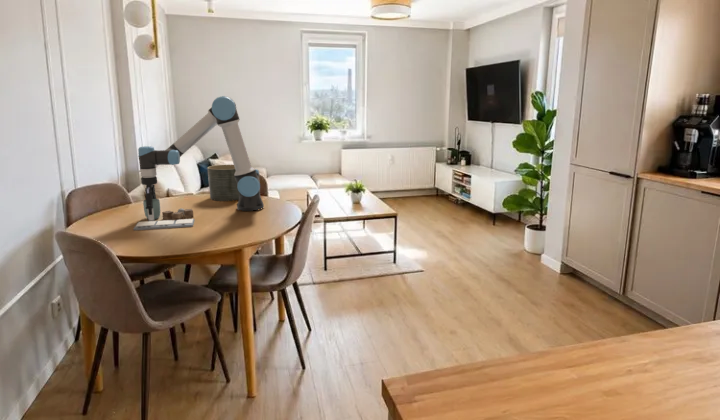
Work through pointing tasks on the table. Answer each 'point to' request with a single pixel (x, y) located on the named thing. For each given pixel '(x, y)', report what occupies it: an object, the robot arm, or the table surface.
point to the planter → (222, 183)
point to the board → (164, 224)
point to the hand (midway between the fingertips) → (153, 218)
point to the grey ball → (181, 210)
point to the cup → (155, 208)
